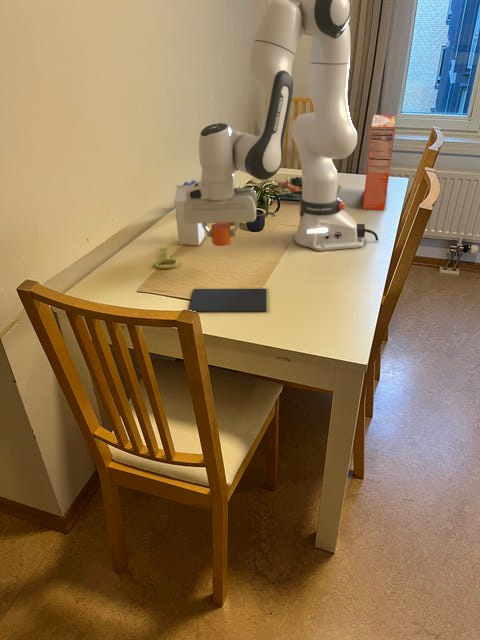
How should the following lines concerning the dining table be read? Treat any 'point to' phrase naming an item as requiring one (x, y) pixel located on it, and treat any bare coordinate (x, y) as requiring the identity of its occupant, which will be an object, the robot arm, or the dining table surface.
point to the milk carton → (186, 232)
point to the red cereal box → (379, 161)
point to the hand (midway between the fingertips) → (221, 236)
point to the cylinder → (221, 234)
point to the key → (166, 260)
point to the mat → (229, 300)
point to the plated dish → (289, 190)
